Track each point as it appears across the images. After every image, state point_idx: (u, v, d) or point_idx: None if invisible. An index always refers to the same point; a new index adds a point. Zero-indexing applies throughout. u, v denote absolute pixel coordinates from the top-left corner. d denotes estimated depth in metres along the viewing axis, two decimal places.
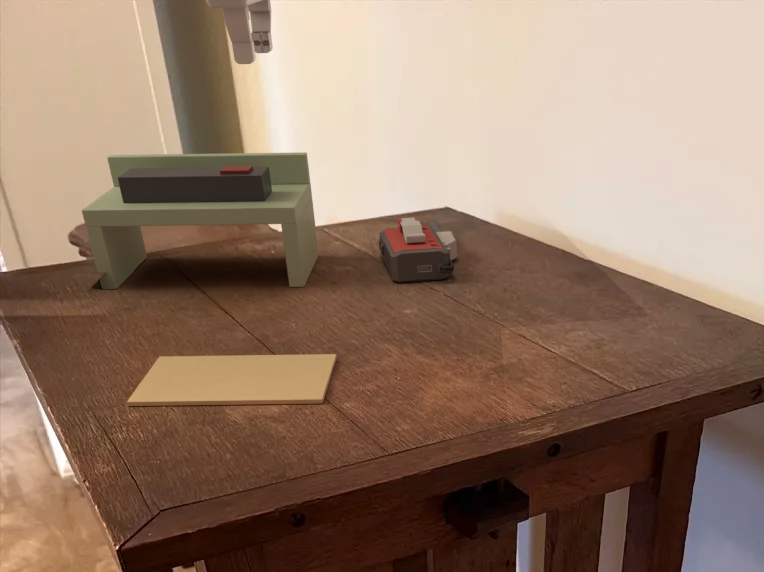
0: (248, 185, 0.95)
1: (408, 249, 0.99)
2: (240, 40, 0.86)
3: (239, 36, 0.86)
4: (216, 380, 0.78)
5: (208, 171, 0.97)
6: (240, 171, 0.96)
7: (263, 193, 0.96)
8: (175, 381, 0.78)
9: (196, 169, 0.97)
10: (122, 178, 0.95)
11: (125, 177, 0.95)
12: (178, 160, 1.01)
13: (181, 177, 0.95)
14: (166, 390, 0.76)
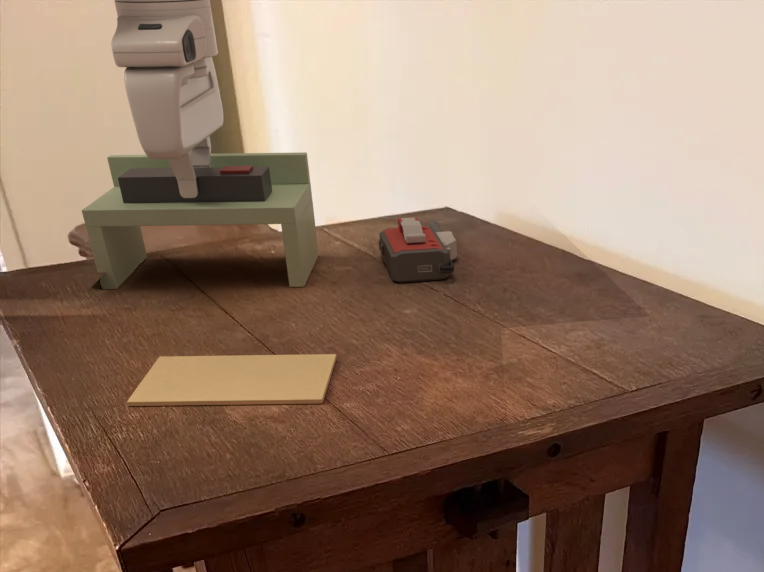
0: (248, 185, 0.95)
1: (408, 249, 0.99)
2: (185, 178, 0.93)
3: (184, 175, 0.93)
4: (216, 380, 0.78)
5: (208, 171, 0.97)
6: (240, 171, 0.96)
7: (263, 193, 0.96)
8: (175, 381, 0.78)
9: (196, 169, 0.98)
10: (122, 178, 0.95)
11: (125, 177, 0.95)
12: None
13: None
14: (166, 390, 0.76)
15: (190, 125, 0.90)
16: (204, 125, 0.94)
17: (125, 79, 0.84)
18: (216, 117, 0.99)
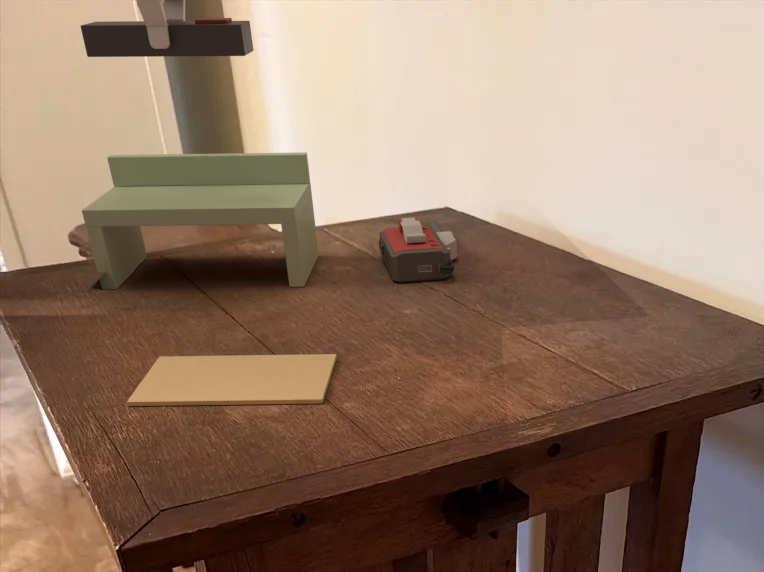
0: (226, 35, 0.86)
1: (408, 249, 0.99)
2: (155, 24, 0.84)
3: (153, 20, 0.84)
4: (216, 380, 0.78)
5: (182, 22, 0.87)
6: (217, 21, 0.86)
7: (243, 46, 0.86)
8: (175, 381, 0.78)
9: (169, 21, 0.88)
10: (85, 26, 0.85)
11: (89, 25, 0.85)
12: (178, 160, 1.01)
13: None
14: (166, 390, 0.76)
15: None
16: None
17: None
18: None
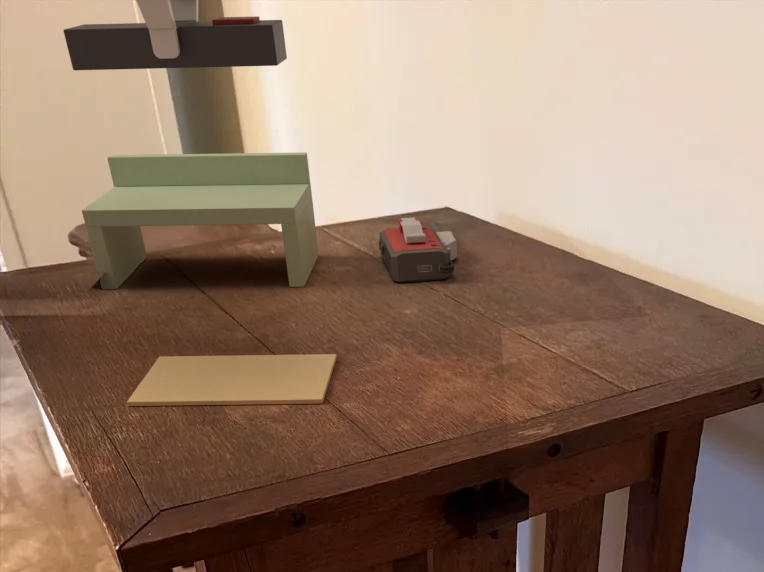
0: (253, 39, 0.66)
1: (408, 249, 0.99)
2: (160, 26, 0.64)
3: (158, 21, 0.64)
4: (216, 380, 0.78)
5: (195, 23, 0.67)
6: (241, 20, 0.66)
7: (275, 53, 0.66)
8: (175, 381, 0.78)
9: (178, 23, 0.68)
10: (70, 31, 0.65)
11: (74, 29, 0.65)
12: (178, 160, 1.01)
13: None
14: (166, 390, 0.76)
15: None
16: None
17: None
18: None
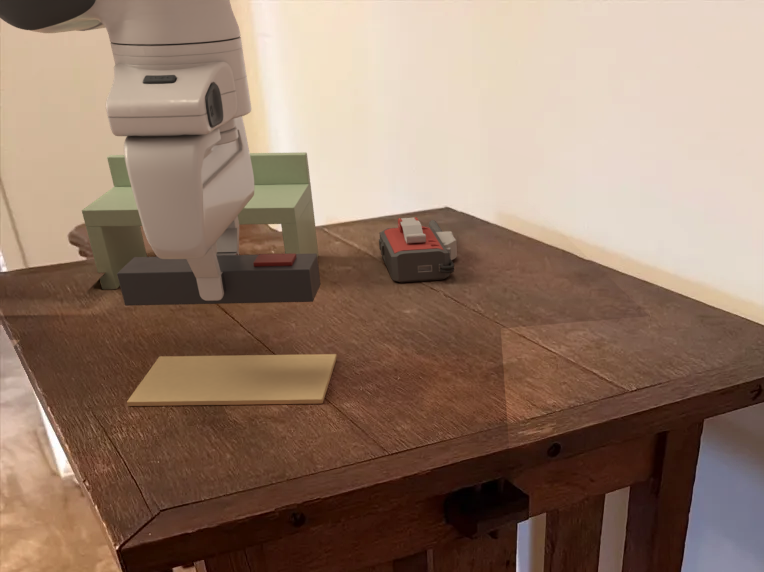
0: (291, 281, 0.71)
1: (408, 249, 0.99)
2: (206, 275, 0.70)
3: (205, 272, 0.69)
4: (216, 380, 0.78)
5: (237, 262, 0.73)
6: (280, 263, 0.72)
7: (311, 292, 0.72)
8: (175, 381, 0.78)
9: (221, 258, 0.74)
10: (123, 274, 0.71)
11: (127, 273, 0.71)
12: None
13: None
14: (166, 390, 0.76)
15: (215, 209, 0.66)
16: (232, 203, 0.70)
17: (125, 153, 0.60)
18: (246, 188, 0.75)
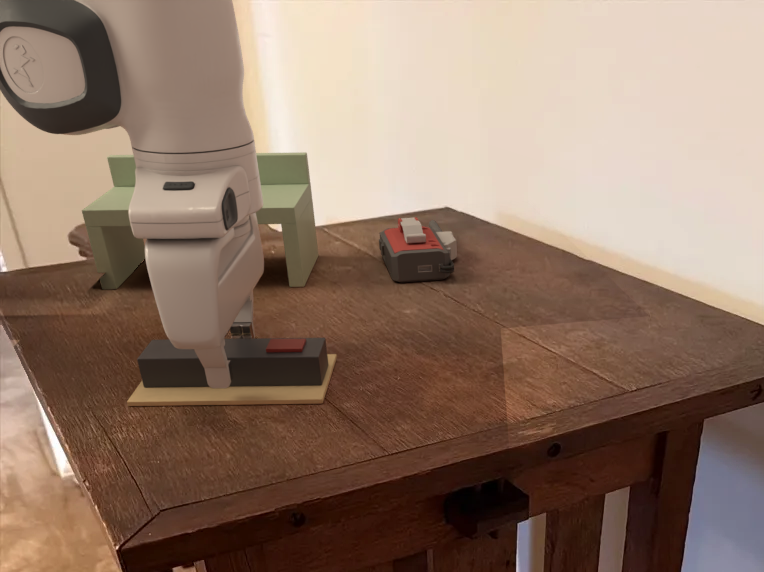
0: (302, 367, 0.76)
1: (408, 249, 0.99)
2: (214, 366, 0.72)
3: (213, 363, 0.72)
4: None
5: (250, 347, 0.77)
6: (291, 349, 0.76)
7: (320, 376, 0.76)
8: None
9: (235, 342, 0.78)
10: (143, 360, 0.75)
11: (147, 358, 0.75)
12: None
13: None
14: (166, 390, 0.76)
15: (228, 299, 0.70)
16: (244, 288, 0.74)
17: (146, 255, 0.64)
18: (256, 269, 0.79)
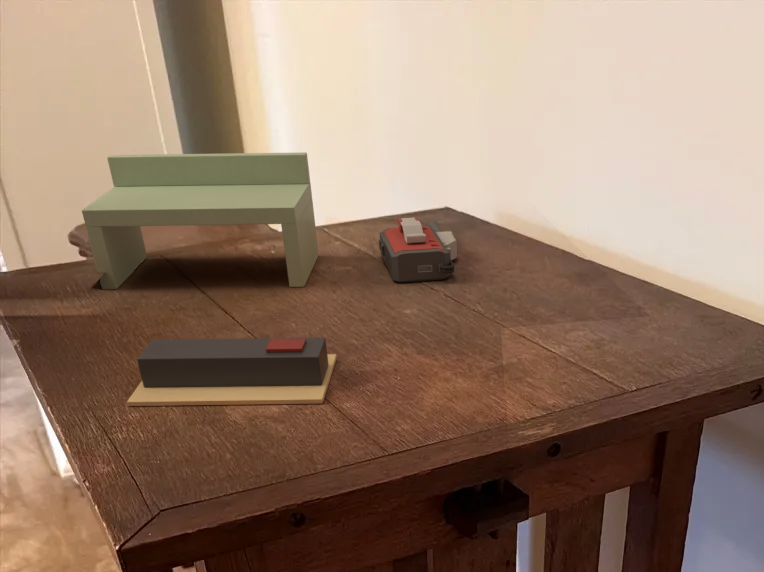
0: (302, 367, 0.76)
1: (408, 249, 0.99)
2: None
3: None
4: None
5: (250, 347, 0.77)
6: (291, 349, 0.76)
7: (320, 376, 0.76)
8: None
9: (235, 342, 0.78)
10: (143, 360, 0.75)
11: (147, 358, 0.75)
12: (178, 160, 1.01)
13: (217, 358, 0.75)
14: (166, 390, 0.76)
15: None
16: None
17: None
18: None
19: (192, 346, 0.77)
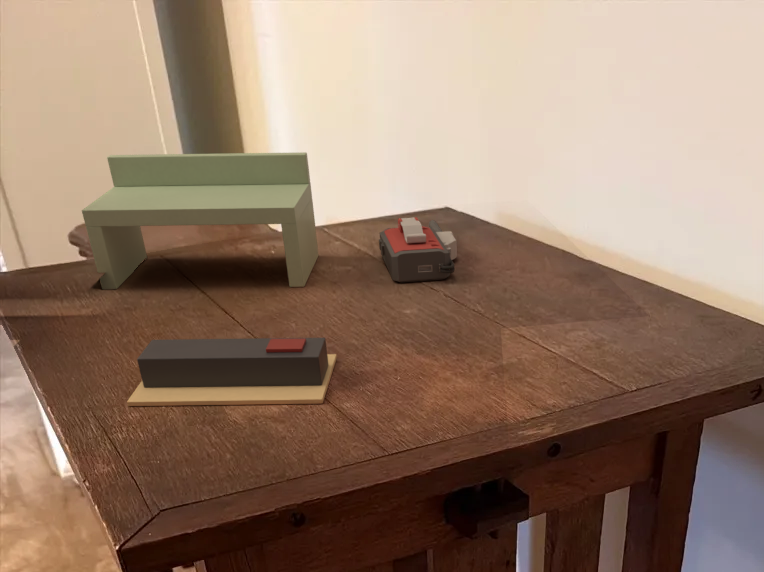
0: (302, 367, 0.76)
1: (409, 249, 0.99)
2: None
3: None
4: None
5: (250, 347, 0.77)
6: (291, 349, 0.76)
7: (320, 376, 0.76)
8: None
9: (235, 342, 0.78)
10: (143, 360, 0.75)
11: (147, 358, 0.75)
12: (178, 160, 1.01)
13: (217, 358, 0.75)
14: (166, 390, 0.76)
15: None
16: None
17: None
18: None
19: (192, 346, 0.77)
